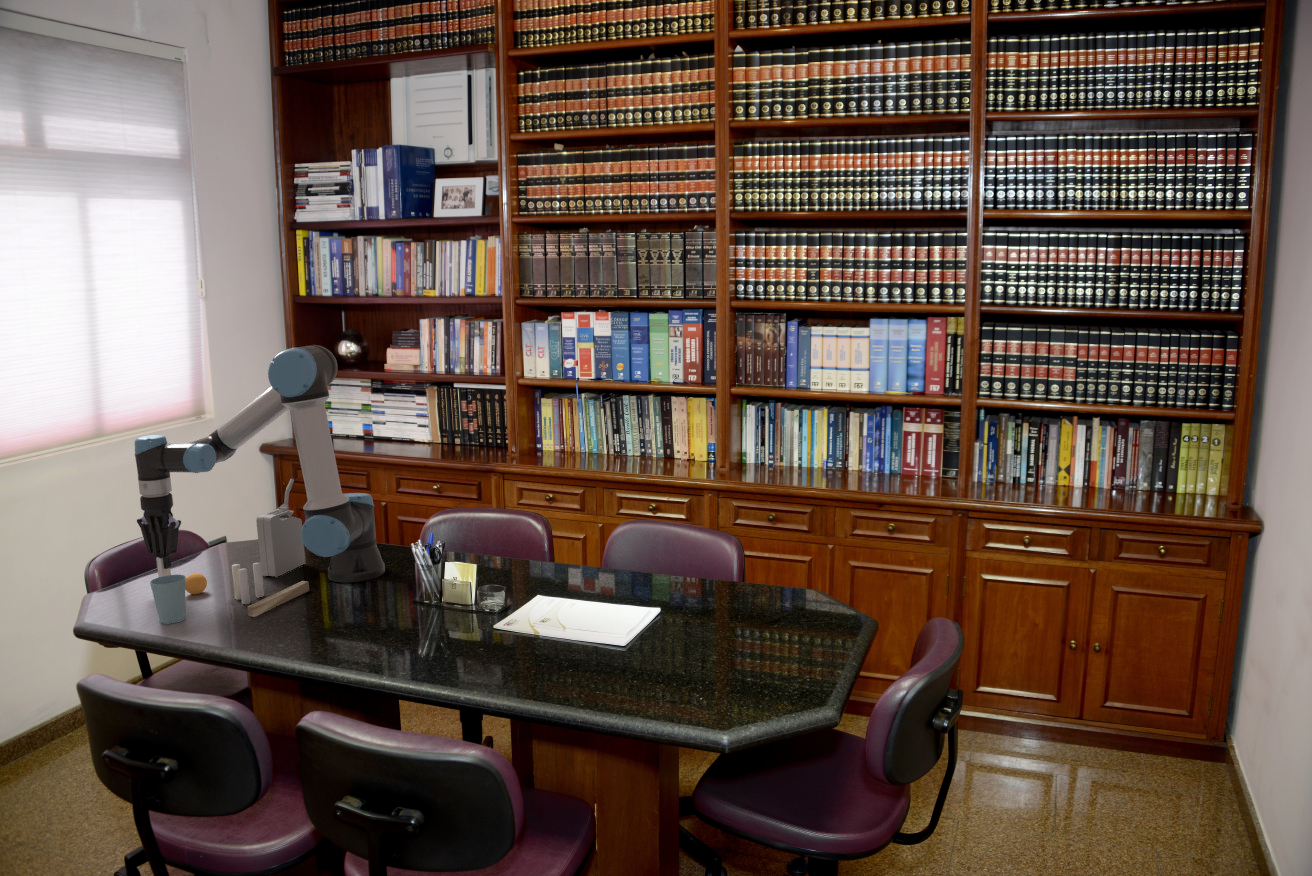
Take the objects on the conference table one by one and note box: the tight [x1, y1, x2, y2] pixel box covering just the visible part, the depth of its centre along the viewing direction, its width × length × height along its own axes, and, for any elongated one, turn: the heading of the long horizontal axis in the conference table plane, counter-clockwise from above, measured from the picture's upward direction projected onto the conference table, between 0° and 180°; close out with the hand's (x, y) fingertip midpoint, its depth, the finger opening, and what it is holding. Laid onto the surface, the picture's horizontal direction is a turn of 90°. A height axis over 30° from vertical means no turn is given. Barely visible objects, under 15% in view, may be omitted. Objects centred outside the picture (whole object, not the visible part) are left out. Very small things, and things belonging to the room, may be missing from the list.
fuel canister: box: [256, 478, 306, 578], centre depth 264 cm, size 15×5×25 cm, turn 163°
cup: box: [149, 574, 187, 625], centre depth 226 cm, size 8×8×10 cm
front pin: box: [231, 563, 241, 601], centre depth 241 cm, size 2×2×9 cm
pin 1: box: [238, 568, 251, 605], centre depth 237 cm, size 2×2×9 cm
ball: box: [185, 572, 208, 595], centre depth 246 cm, size 6×6×6 cm
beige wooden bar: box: [247, 580, 310, 618], centre depth 237 cm, size 2×20×2 cm, turn 162°
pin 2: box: [252, 562, 265, 599], centre depth 242 cm, size 2×2×9 cm
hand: (165, 579), depth 249 cm, fingers closed
